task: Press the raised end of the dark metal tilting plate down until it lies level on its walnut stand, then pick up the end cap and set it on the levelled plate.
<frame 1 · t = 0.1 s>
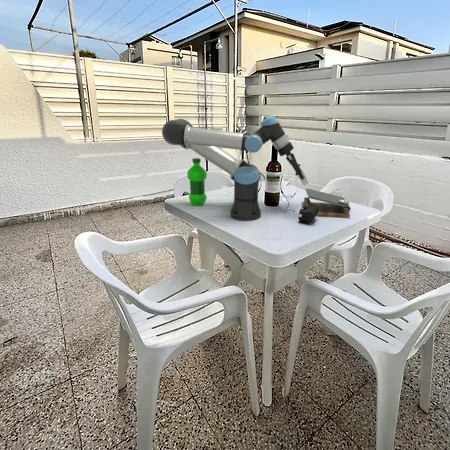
hand: (305, 181, 150), 15 cm above the table, tool tilted 35°, fingers open, 13 cm apart
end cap: (307, 221, 140), on the table
walnut stand: (323, 210, 154), on the table
plastic bottle: (197, 204, 165), on the table
tilting plate: (326, 196, 151), point 8 cm above the table, hinge at 12.0°
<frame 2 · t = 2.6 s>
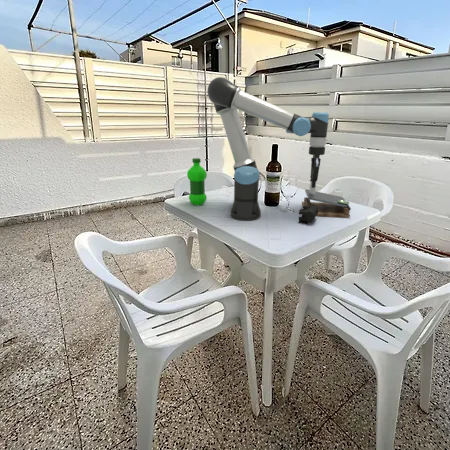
hand: (312, 193, 152), 9 cm above the table, tool pointing down, fingers closed
tilting plate: (326, 196, 152), point 8 cm above the table, hinge at 10.2°, touching gripper
everything else where it was.
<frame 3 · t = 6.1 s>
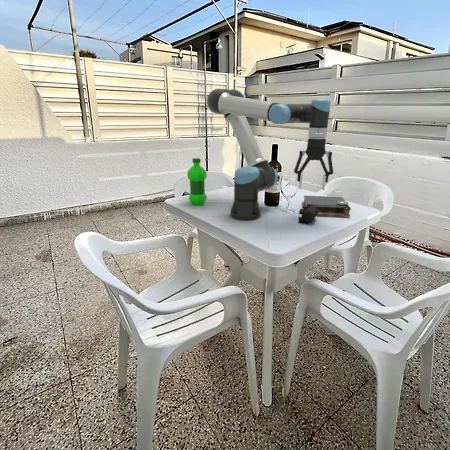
hand: (311, 189, 135), 16 cm above the table, tool pointing down, fingers open, 9 cm apart
tilting plate: (325, 199, 152), point 6 cm above the table, hinge at -0.2°
everything else where it was.
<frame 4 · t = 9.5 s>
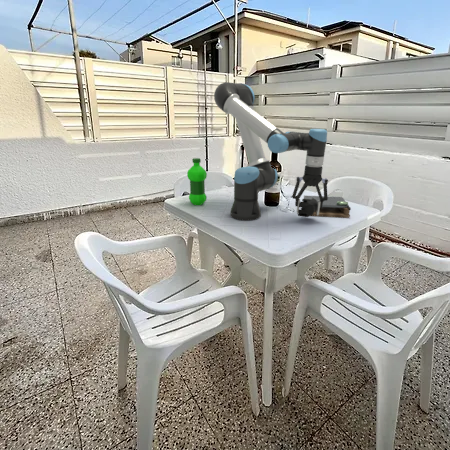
hand: (307, 213, 139), 4 cm above the table, tool pointing down, fingers closed on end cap, 8 cm apart
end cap: (307, 214, 139), point 3 cm above the table, touching gripper
everything else where it was.
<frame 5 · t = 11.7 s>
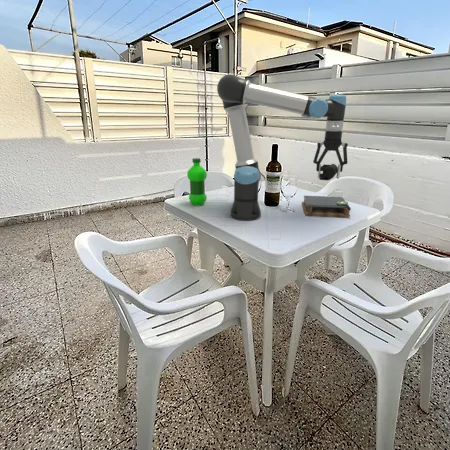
hand: (328, 177, 147), 18 cm above the table, tool pointing down, fingers closed on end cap, 8 cm apart
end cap: (328, 179, 147), point 17 cm above the table, touching gripper
everything else where it was.
when the fingers open (7 cm above the table, at t = 14.3 s): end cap stays where it is, resting on tilting plate.
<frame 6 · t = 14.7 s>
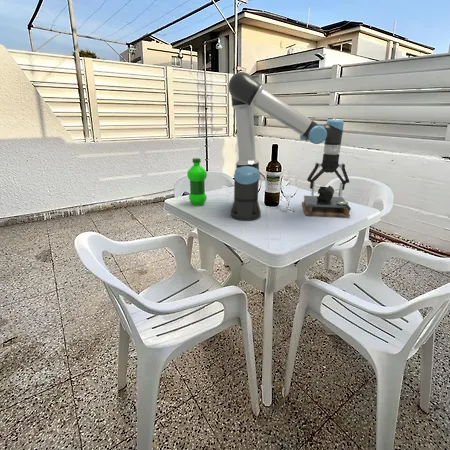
hand: (325, 195, 151), 8 cm above the table, tool pointing down, fingers open, 13 cm apart
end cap: (325, 200, 153), point 5 cm above the table, touching tilting plate
tilting plate: (325, 199, 152), point 6 cm above the table, hinge at -0.2°, touching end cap
everything else where it was.
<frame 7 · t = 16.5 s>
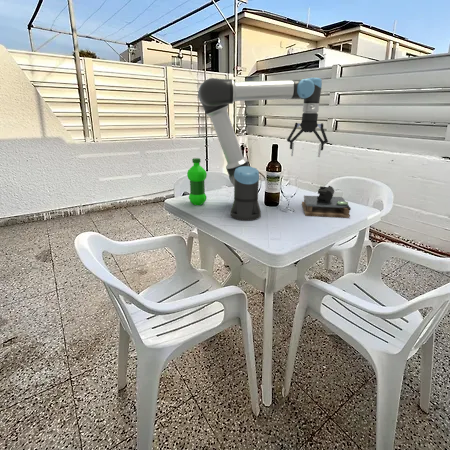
hand: (305, 156, 154), 27 cm above the table, tool pointing down, fingers open, 13 cm apart
nothing on the table moved.
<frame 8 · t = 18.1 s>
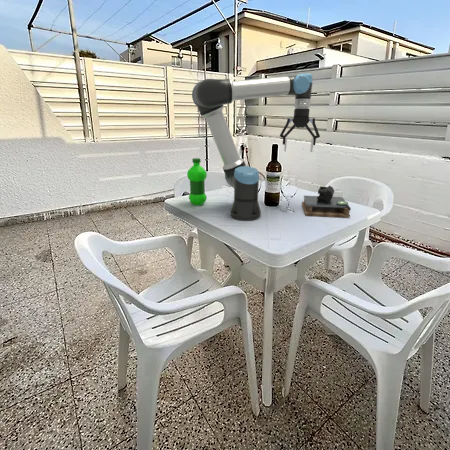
hand: (298, 151, 156), 29 cm above the table, tool pointing down, fingers open, 13 cm apart
nothing on the table moved.
at the end: tilting plate at +0° (first picture: +12°); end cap inside the target area (0.1 cm from its centre), point 5.4 cm above the table; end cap touching tilting plate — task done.
